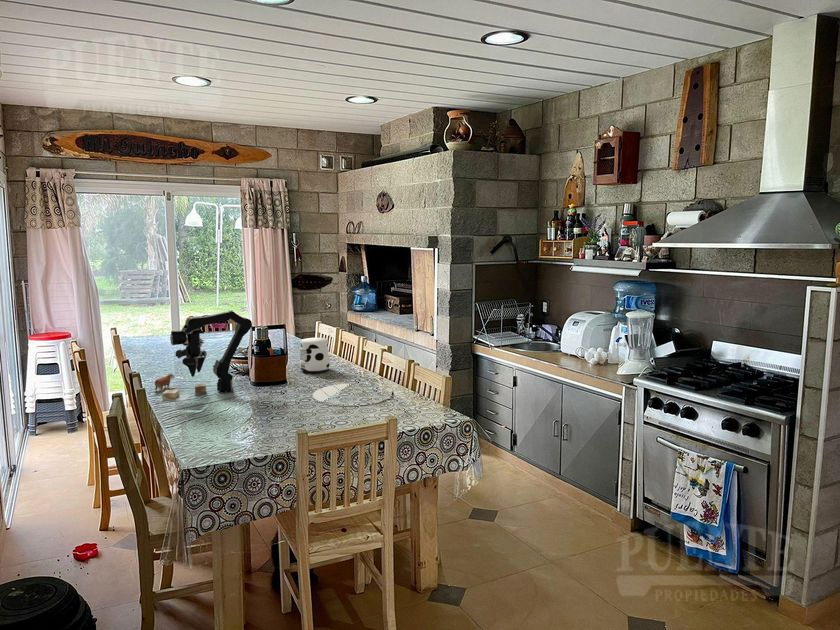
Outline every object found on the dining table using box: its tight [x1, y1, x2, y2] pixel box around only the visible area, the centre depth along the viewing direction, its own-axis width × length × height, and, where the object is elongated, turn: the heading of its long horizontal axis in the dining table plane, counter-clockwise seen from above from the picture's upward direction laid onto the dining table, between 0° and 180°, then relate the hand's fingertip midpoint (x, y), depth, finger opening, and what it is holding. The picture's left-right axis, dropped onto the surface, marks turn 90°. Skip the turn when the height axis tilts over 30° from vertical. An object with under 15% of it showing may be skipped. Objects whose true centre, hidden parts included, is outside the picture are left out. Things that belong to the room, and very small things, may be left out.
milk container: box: [299, 337, 331, 373], centre depth 347 cm, size 17×17×18 cm
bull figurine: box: [154, 372, 176, 392], centre depth 306 cm, size 4×13×8 cm, turn 164°
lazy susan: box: [312, 381, 392, 402], centre depth 298 cm, size 40×39×3 cm
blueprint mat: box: [158, 394, 191, 402], centre depth 291 cm, size 12×10×1 cm
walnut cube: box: [194, 382, 207, 396], centre depth 299 cm, size 5×5×5 cm
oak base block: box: [161, 389, 181, 400], centre depth 290 cm, size 6×6×3 cm
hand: (195, 374), depth 297 cm, fingers open, 9 cm apart
